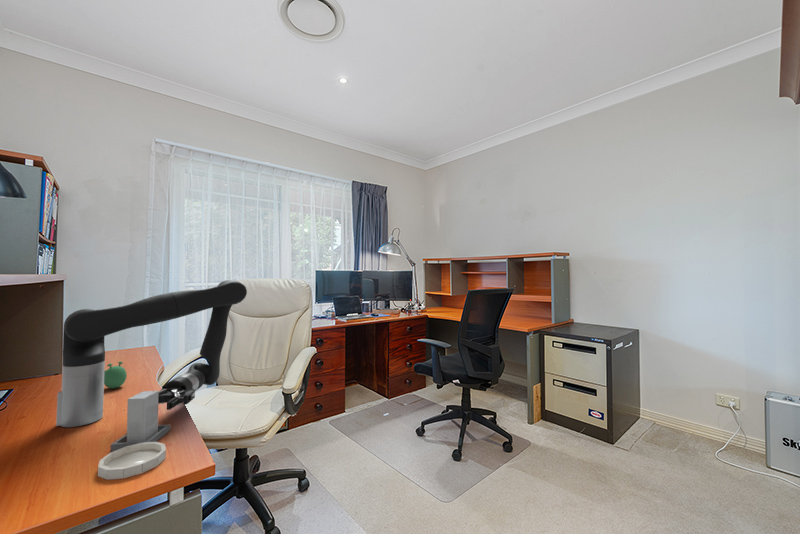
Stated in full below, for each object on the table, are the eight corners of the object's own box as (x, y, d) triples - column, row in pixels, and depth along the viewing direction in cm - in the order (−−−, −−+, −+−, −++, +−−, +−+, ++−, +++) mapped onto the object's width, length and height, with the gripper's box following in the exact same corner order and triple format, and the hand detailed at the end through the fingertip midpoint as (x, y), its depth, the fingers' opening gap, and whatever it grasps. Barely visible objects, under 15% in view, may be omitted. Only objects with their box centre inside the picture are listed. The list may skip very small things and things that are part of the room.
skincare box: (141, 435, 91) (143, 390, 91) (158, 434, 91) (159, 390, 92) (125, 446, 85) (126, 398, 85) (142, 445, 85) (144, 398, 86)
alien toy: (114, 384, 134) (115, 359, 134) (130, 385, 132) (131, 360, 133) (95, 390, 127) (96, 363, 127) (113, 391, 125) (114, 364, 126)
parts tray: (110, 451, 82) (110, 444, 82) (137, 431, 93) (137, 426, 93) (147, 448, 84) (147, 442, 84) (170, 430, 94) (170, 424, 94)
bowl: (83, 481, 70) (83, 471, 70) (122, 451, 82) (122, 443, 82) (145, 476, 72) (146, 467, 72) (175, 448, 84) (175, 440, 84)
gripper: (157, 377, 107) (123, 394, 91) (204, 375, 109) (179, 392, 93) (156, 400, 107) (122, 422, 91) (204, 398, 109) (178, 419, 93)
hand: (151, 407), depth 92 cm, fingers open, 8 cm apart
